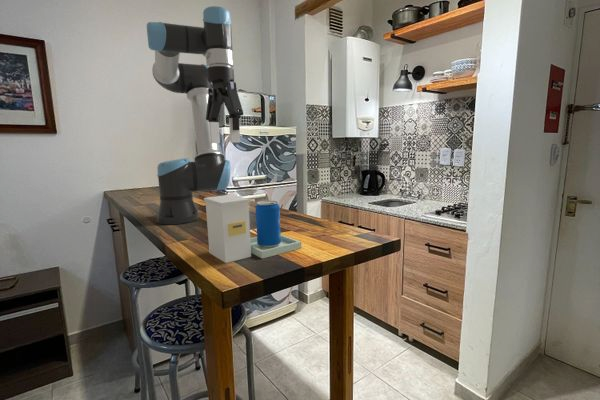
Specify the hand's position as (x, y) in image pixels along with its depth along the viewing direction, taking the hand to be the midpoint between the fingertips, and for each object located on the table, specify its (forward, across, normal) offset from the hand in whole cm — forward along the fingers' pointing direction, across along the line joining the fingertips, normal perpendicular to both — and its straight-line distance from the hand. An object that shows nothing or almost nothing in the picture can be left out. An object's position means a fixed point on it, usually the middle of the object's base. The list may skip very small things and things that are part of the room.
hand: (224, 143), depth 97 cm
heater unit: (+29, +16, -8) cm, 34 cm away
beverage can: (+28, +18, +3) cm, 34 cm away
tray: (+29, +18, +3) cm, 34 cm away
